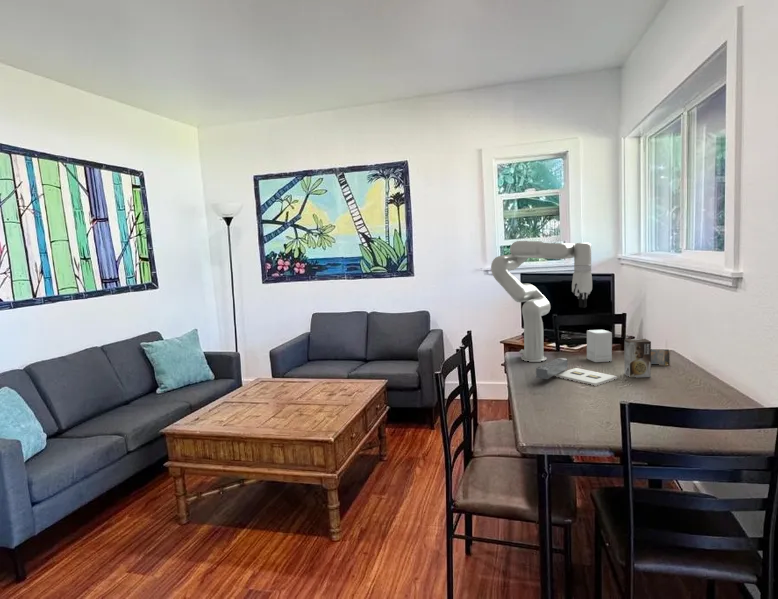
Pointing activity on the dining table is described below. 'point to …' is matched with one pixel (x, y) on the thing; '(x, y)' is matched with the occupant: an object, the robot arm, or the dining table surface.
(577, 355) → the dining table surface
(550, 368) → the swing bar
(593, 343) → the supplement box
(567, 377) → the label board
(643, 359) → the coffee box
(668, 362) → the blue grey rectangular box
